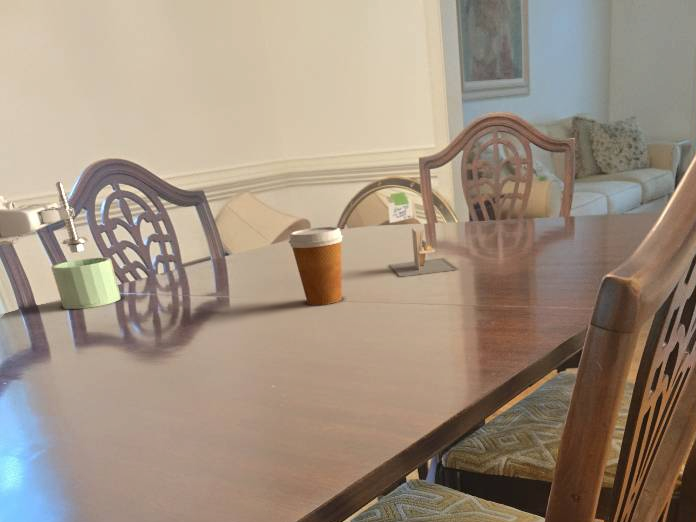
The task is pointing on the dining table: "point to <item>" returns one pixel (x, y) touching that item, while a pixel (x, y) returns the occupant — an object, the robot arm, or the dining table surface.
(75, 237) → the screw
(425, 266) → the architectural model
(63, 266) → the green cup
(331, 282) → the disposable coffee cup
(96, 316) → the dining table surface
